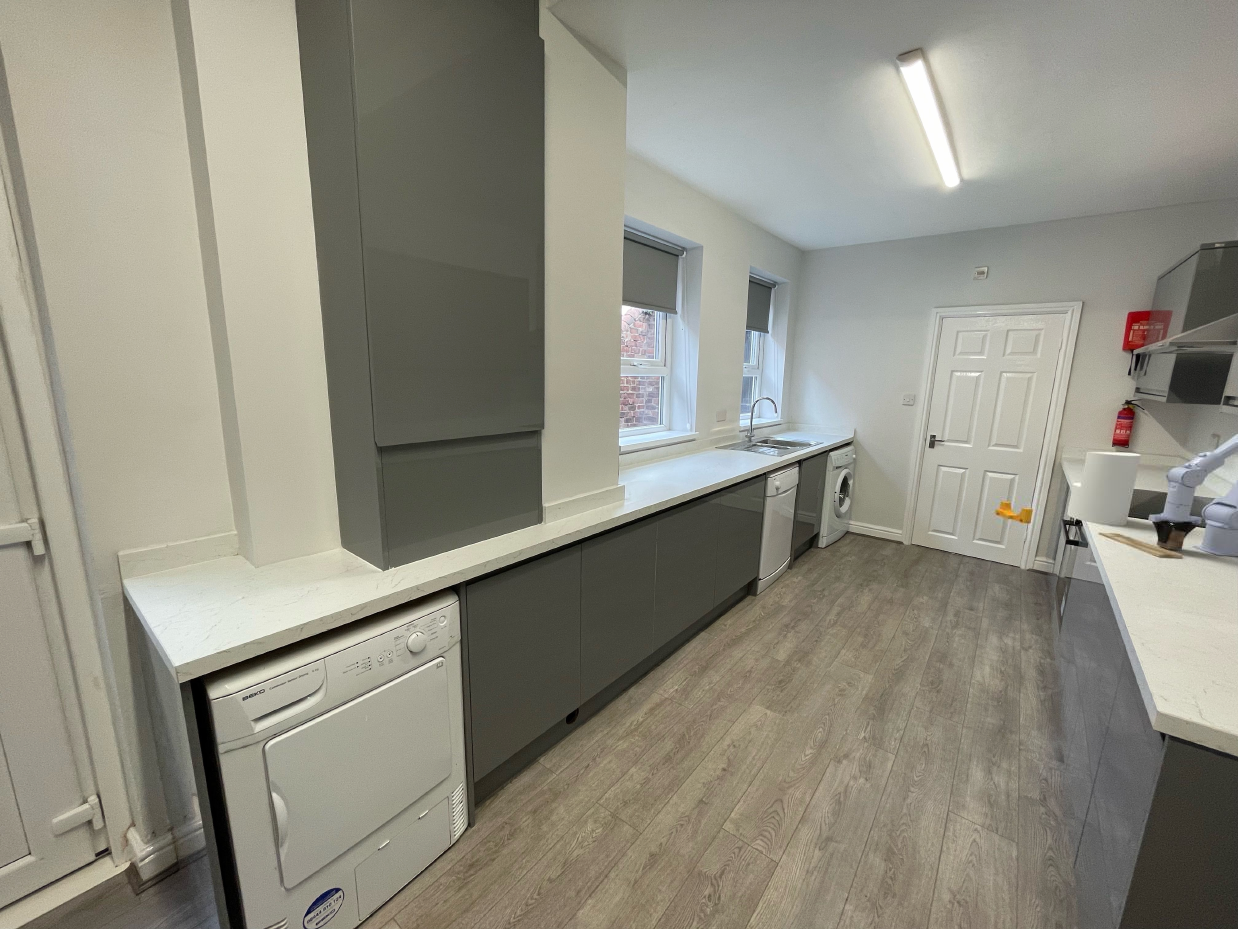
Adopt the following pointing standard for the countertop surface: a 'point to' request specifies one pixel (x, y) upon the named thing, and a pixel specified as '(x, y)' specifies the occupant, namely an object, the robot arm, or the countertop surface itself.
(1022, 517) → the mounting bracket
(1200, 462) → the robot arm
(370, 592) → the countertop surface
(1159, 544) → the block
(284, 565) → the countertop surface
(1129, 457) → the cylinder
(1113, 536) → the oak board
